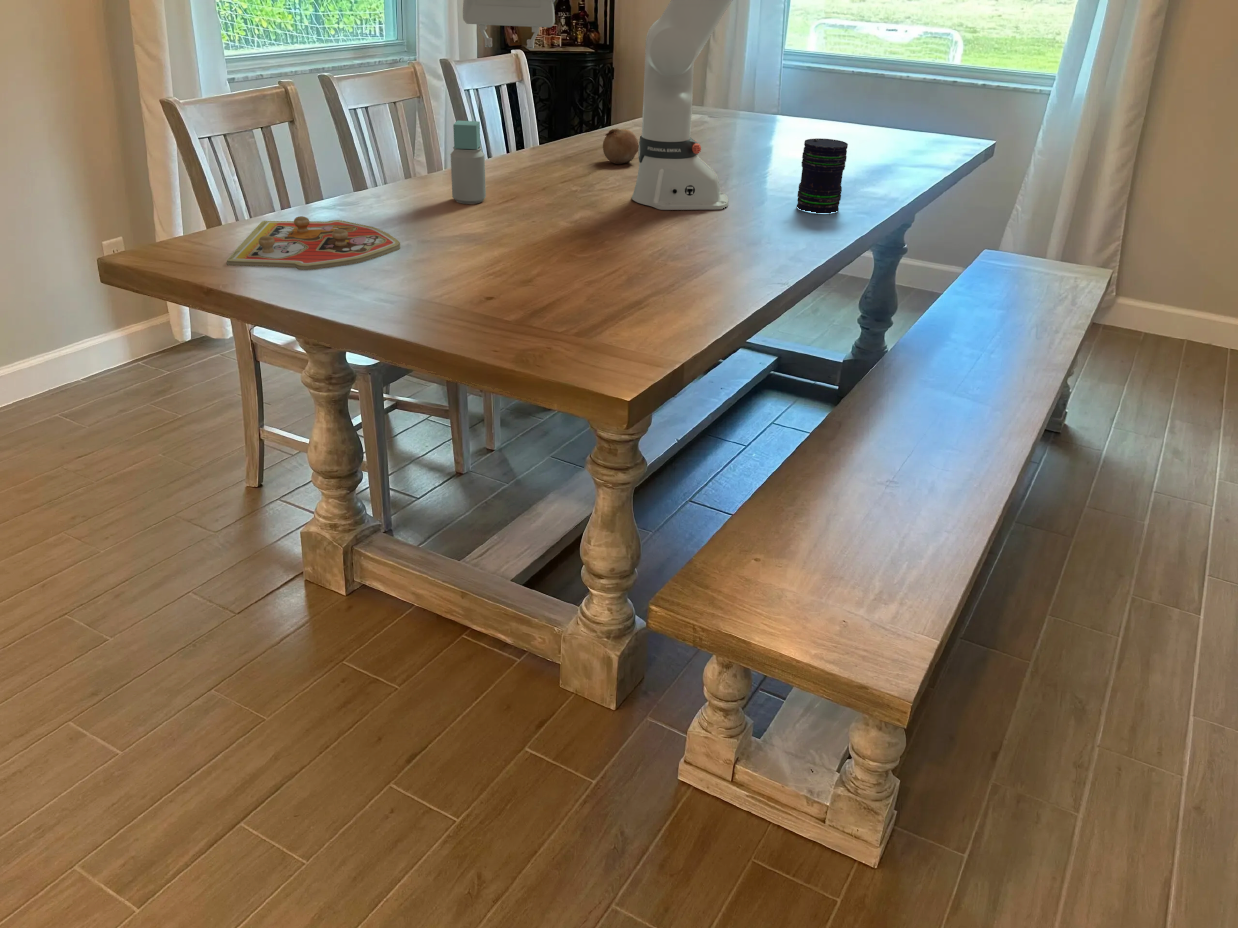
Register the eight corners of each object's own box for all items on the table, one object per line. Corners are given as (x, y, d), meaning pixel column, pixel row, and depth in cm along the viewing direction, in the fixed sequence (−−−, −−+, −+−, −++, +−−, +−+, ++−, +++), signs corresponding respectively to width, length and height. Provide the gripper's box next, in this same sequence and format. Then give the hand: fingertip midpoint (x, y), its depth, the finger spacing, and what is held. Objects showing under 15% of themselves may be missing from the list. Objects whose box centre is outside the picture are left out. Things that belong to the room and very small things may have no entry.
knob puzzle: (264, 226, 204) (261, 204, 202) (409, 229, 206) (408, 207, 204) (223, 271, 179) (220, 247, 177) (390, 274, 181) (388, 250, 179)
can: (479, 206, 222) (477, 151, 217) (447, 203, 224) (445, 148, 218) (490, 198, 229) (488, 144, 223) (459, 195, 230) (456, 142, 224)
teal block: (480, 144, 223) (479, 121, 220) (477, 149, 218) (476, 125, 216) (458, 143, 223) (457, 120, 220) (454, 148, 218) (453, 124, 216)
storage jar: (847, 210, 231) (857, 143, 224) (823, 217, 225) (833, 149, 217) (811, 201, 237) (819, 136, 230) (787, 208, 231) (795, 141, 223)
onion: (608, 176, 266) (593, 142, 260) (614, 159, 272) (600, 126, 266) (641, 166, 262) (626, 131, 256) (646, 149, 269) (632, 115, 263)
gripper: (557, -20, 219) (556, 48, 226) (464, -24, 220) (467, 44, 226) (554, -18, 214) (554, 51, 221) (459, -22, 214) (462, 47, 221)
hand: (509, 47), depth 223 cm, fingers open, 8 cm apart
